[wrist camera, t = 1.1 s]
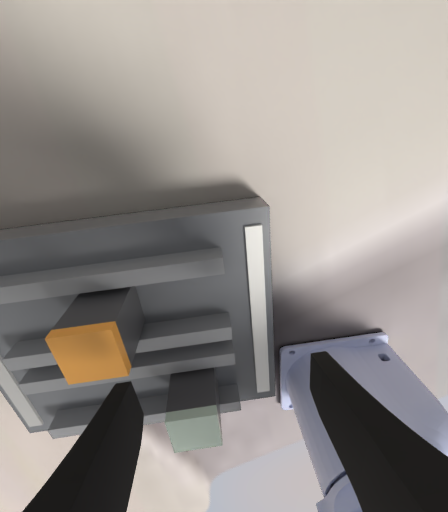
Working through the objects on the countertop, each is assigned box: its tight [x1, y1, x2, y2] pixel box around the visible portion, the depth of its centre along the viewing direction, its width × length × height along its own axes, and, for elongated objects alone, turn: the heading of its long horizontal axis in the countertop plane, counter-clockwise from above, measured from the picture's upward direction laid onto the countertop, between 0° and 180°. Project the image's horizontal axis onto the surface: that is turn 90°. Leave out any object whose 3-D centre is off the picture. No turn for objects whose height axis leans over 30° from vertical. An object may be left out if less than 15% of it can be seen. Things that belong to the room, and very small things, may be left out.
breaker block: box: [0, 197, 275, 453], centre depth 17 cm, size 20×16×7 cm
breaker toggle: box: [45, 286, 145, 385], centre depth 14 cm, size 3×3×4 cm
